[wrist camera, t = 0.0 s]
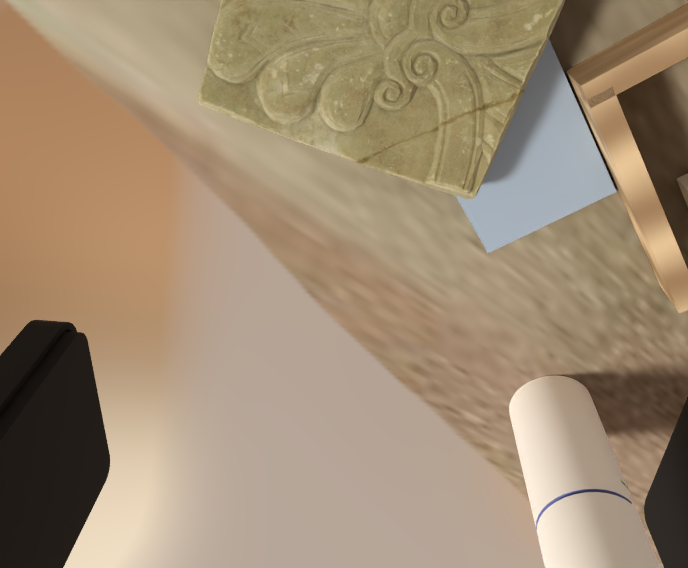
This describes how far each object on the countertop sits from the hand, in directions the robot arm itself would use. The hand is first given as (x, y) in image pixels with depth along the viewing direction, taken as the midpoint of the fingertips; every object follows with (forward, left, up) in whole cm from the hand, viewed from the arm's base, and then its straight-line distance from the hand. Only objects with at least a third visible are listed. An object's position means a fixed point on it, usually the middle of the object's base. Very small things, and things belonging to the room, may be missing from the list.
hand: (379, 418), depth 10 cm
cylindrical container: (+35, -4, -38) cm, 51 cm away
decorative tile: (-1, 0, -37) cm, 37 cm away
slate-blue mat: (+11, +3, -37) cm, 39 cm away
